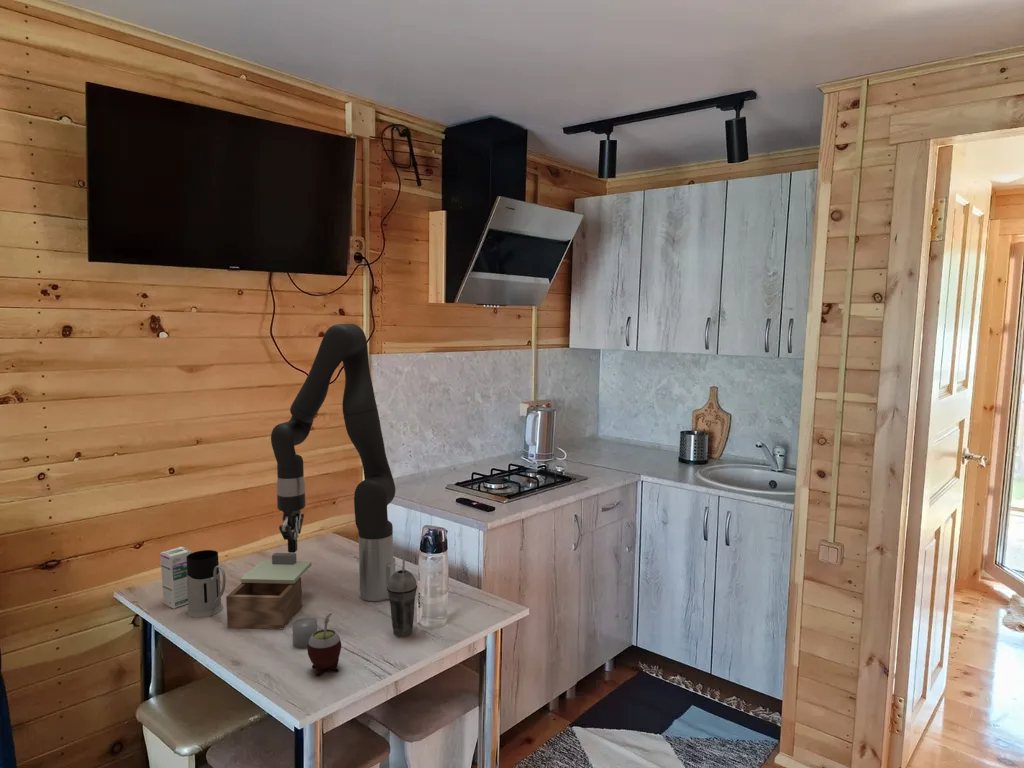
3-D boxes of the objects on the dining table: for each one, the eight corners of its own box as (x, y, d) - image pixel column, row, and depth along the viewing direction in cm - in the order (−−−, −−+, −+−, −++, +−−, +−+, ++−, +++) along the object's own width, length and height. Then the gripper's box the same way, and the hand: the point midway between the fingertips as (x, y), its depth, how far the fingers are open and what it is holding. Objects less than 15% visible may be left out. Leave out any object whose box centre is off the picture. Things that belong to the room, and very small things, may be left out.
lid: (311, 565, 188) (311, 552, 187) (293, 583, 175) (293, 570, 174) (261, 564, 188) (261, 551, 188) (240, 582, 175) (240, 569, 175)
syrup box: (173, 609, 179) (170, 556, 177) (162, 603, 182) (159, 551, 181) (194, 602, 183) (192, 550, 182) (183, 596, 187) (180, 545, 185)
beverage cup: (381, 637, 163) (380, 556, 161) (398, 624, 170) (396, 546, 168) (408, 642, 161) (406, 560, 159) (423, 629, 167) (422, 550, 165)
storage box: (302, 606, 180) (301, 577, 180) (282, 629, 168) (281, 597, 167) (250, 605, 181) (249, 576, 180) (227, 627, 168) (226, 596, 168)
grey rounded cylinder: (321, 637, 163) (320, 617, 163) (312, 649, 158) (312, 628, 157) (298, 637, 164) (297, 617, 163) (289, 648, 158) (288, 627, 158)
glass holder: (211, 600, 184) (208, 547, 183) (242, 614, 176) (239, 557, 175) (179, 612, 177) (177, 556, 176) (210, 626, 169) (207, 568, 167)
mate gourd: (320, 659, 153) (318, 595, 151) (351, 664, 151) (349, 599, 149) (300, 676, 146) (298, 609, 144) (333, 681, 144) (331, 613, 142)
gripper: (295, 498, 184) (297, 560, 186) (312, 486, 197) (313, 544, 199) (268, 498, 185) (270, 559, 186) (287, 485, 198) (288, 543, 199)
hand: (292, 551), depth 193 cm, fingers closed
